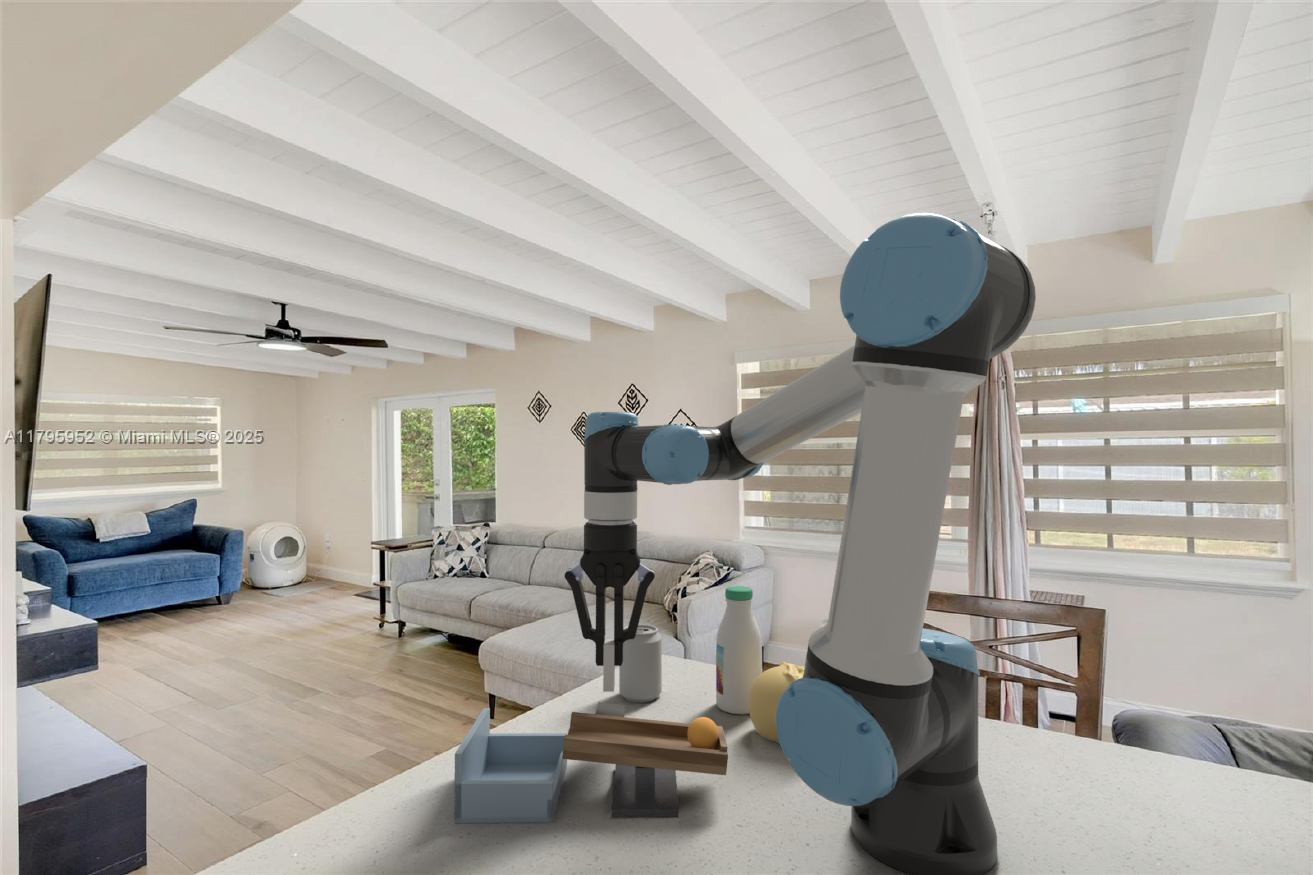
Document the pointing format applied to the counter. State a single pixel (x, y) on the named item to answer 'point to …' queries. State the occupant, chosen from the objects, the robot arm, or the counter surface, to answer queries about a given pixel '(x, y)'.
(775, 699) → the sculpture
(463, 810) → the box
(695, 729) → the ball
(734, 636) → the milk bottle
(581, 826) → the counter surface
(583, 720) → the seesaw chute
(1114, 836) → the counter surface
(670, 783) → the pivot stand
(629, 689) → the can
